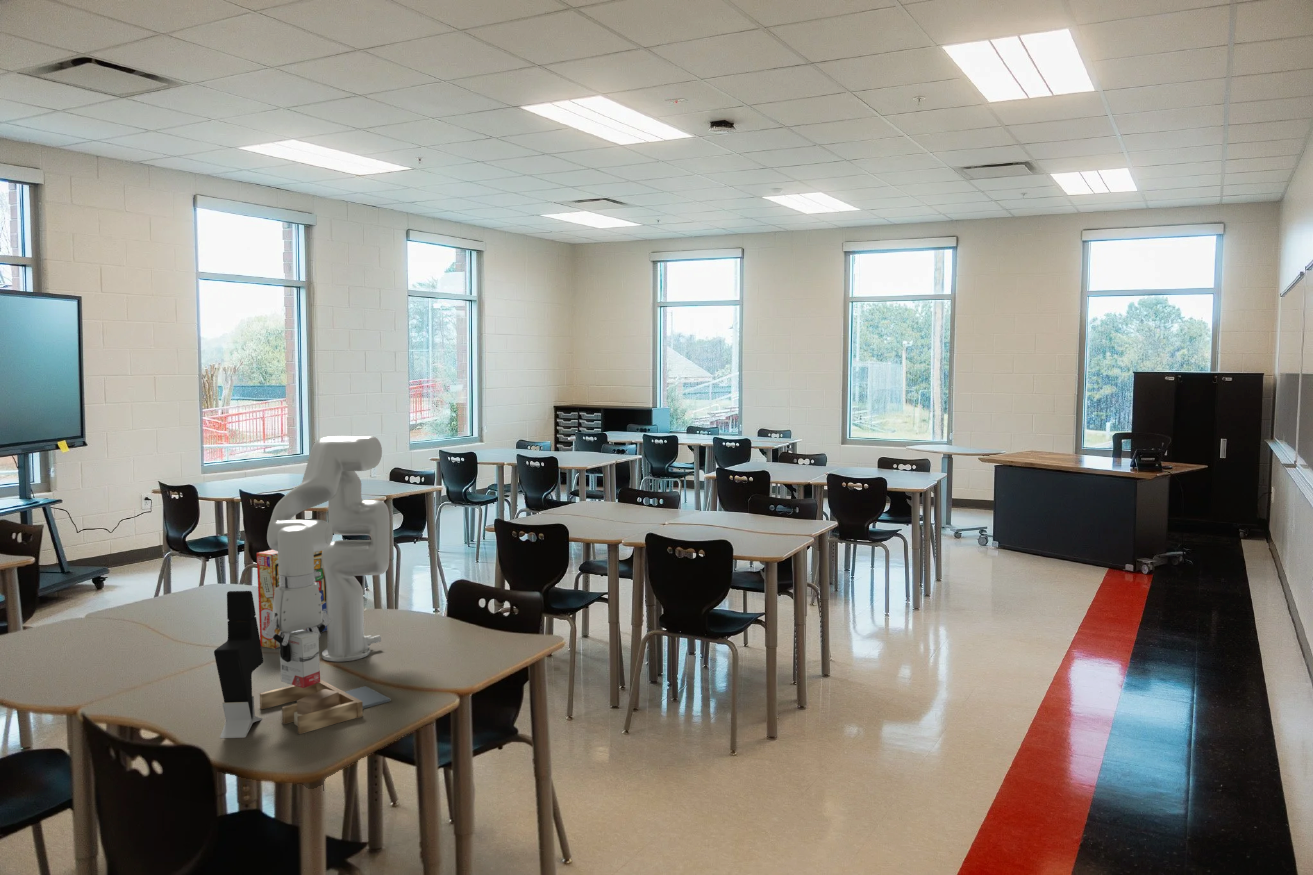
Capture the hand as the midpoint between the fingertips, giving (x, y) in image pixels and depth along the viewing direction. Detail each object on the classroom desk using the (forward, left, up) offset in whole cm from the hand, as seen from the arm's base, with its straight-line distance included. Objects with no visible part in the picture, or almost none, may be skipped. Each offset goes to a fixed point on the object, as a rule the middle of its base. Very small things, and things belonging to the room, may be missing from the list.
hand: (299, 656), depth 210 cm
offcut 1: (+1, +10, -9) cm, 14 cm away
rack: (0, +4, -12) cm, 13 cm away
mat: (-13, +5, -12) cm, 18 cm away
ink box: (0, 0, -6) cm, 6 cm away
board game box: (-23, -54, -12) cm, 60 cm away
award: (+14, +3, -12) cm, 19 cm away
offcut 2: (+1, +11, -12) cm, 16 cm away
